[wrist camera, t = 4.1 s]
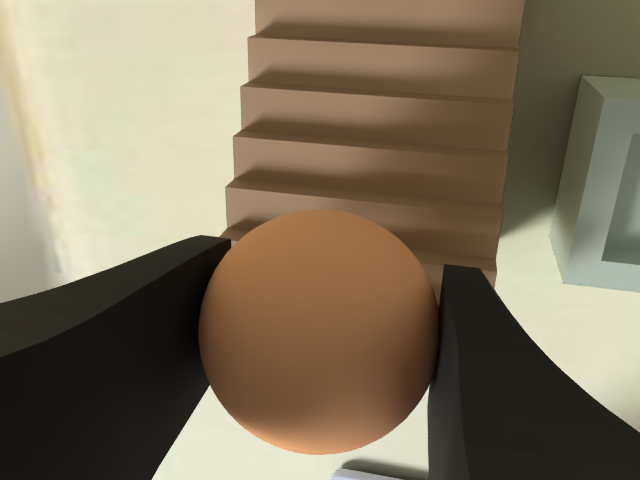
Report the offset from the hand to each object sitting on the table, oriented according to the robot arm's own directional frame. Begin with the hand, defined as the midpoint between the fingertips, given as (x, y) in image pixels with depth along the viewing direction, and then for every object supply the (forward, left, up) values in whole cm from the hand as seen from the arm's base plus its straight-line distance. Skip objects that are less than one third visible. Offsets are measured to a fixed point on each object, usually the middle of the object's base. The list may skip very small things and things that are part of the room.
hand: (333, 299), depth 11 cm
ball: (0, 0, +1) cm, 1 cm away
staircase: (+3, 0, -7) cm, 7 cm away
